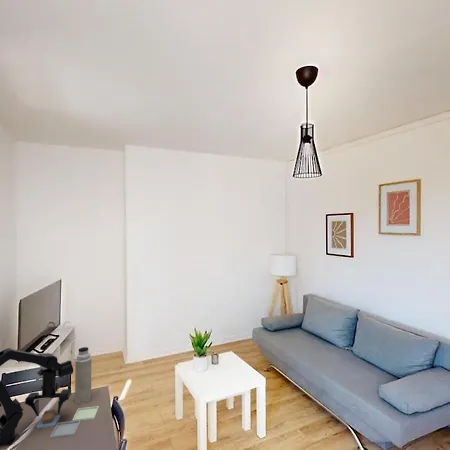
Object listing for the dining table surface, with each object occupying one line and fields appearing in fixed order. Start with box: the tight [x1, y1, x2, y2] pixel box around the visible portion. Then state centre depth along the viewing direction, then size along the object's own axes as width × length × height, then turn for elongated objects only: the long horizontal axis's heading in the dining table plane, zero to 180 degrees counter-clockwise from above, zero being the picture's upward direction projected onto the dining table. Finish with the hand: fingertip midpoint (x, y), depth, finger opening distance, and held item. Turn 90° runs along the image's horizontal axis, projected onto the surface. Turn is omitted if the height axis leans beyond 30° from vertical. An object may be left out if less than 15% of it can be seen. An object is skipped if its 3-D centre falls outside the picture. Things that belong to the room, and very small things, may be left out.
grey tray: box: [49, 420, 81, 440], centre depth 138 cm, size 10×10×1 cm
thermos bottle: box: [74, 346, 92, 405], centre depth 165 cm, size 8×8×28 cm
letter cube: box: [41, 409, 56, 424], centre depth 144 cm, size 4×4×4 cm
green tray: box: [71, 405, 100, 421], centre depth 150 cm, size 10×10×1 cm
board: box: [35, 414, 61, 429], centre depth 144 cm, size 8×8×1 cm
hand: (48, 414), depth 144 cm, fingers open, 9 cm apart
